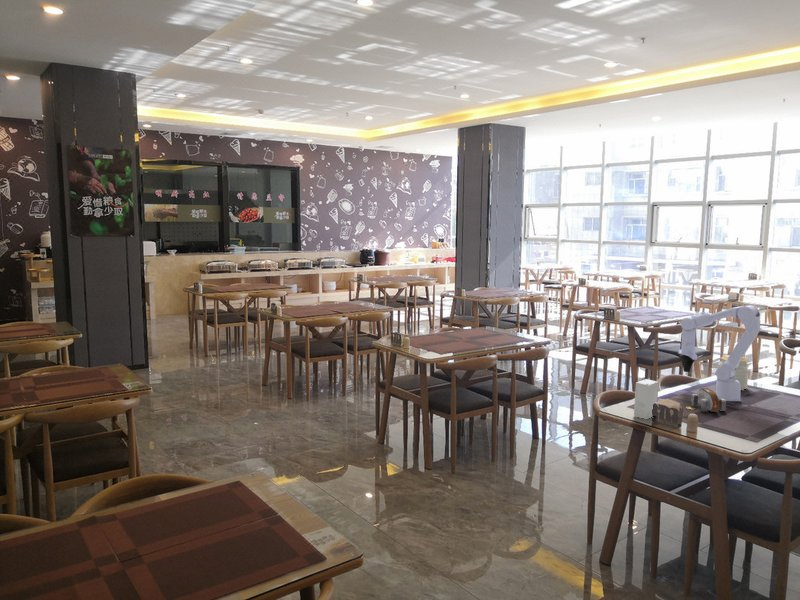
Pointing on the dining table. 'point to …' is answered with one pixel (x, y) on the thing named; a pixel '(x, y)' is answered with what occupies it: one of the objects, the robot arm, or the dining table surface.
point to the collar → (694, 400)
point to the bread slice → (709, 399)
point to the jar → (739, 371)
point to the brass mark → (691, 408)
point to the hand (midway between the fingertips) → (686, 371)
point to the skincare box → (645, 398)
